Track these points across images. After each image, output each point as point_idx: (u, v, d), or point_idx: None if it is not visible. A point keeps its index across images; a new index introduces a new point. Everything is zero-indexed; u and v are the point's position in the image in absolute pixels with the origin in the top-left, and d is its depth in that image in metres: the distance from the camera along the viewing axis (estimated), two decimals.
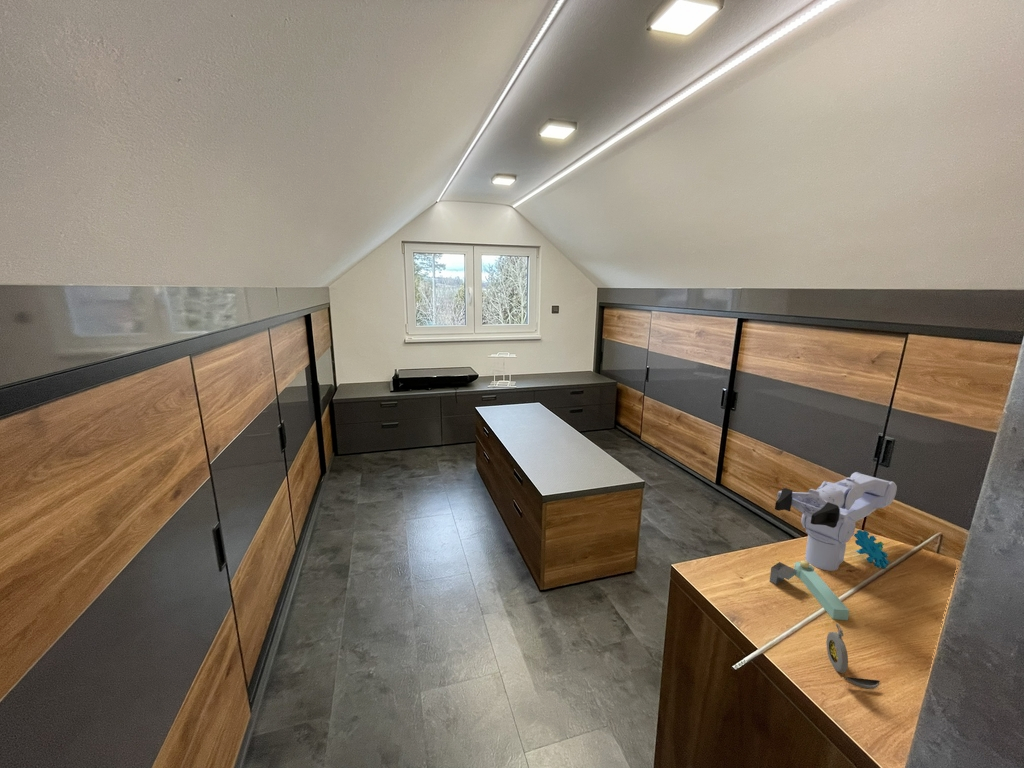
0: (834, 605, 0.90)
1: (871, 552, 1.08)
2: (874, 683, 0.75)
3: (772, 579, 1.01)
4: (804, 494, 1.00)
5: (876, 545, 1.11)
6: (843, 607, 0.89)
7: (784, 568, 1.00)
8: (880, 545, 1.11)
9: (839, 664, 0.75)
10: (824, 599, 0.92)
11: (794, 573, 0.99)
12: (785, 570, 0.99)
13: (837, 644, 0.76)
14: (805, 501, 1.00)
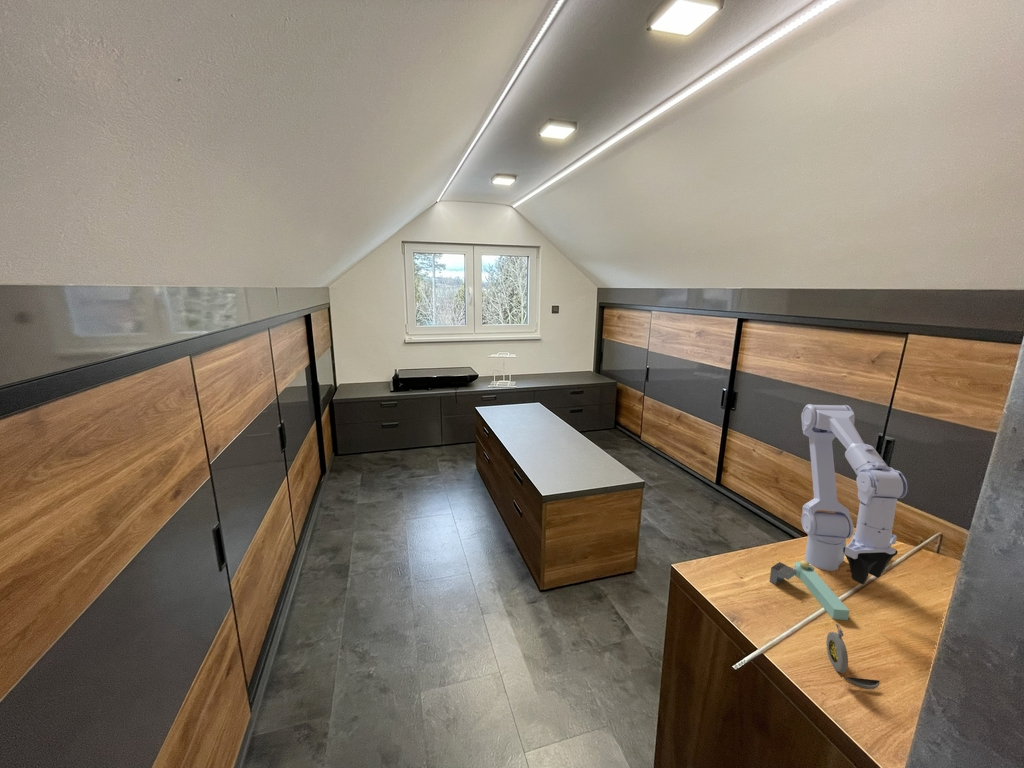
0: (834, 605, 0.90)
1: None
2: (874, 683, 0.75)
3: (772, 579, 1.01)
4: None
5: None
6: (843, 607, 0.89)
7: (784, 568, 1.00)
8: None
9: (839, 664, 0.75)
10: (824, 599, 0.92)
11: (794, 573, 0.99)
12: (785, 570, 0.99)
13: (837, 644, 0.76)
14: None
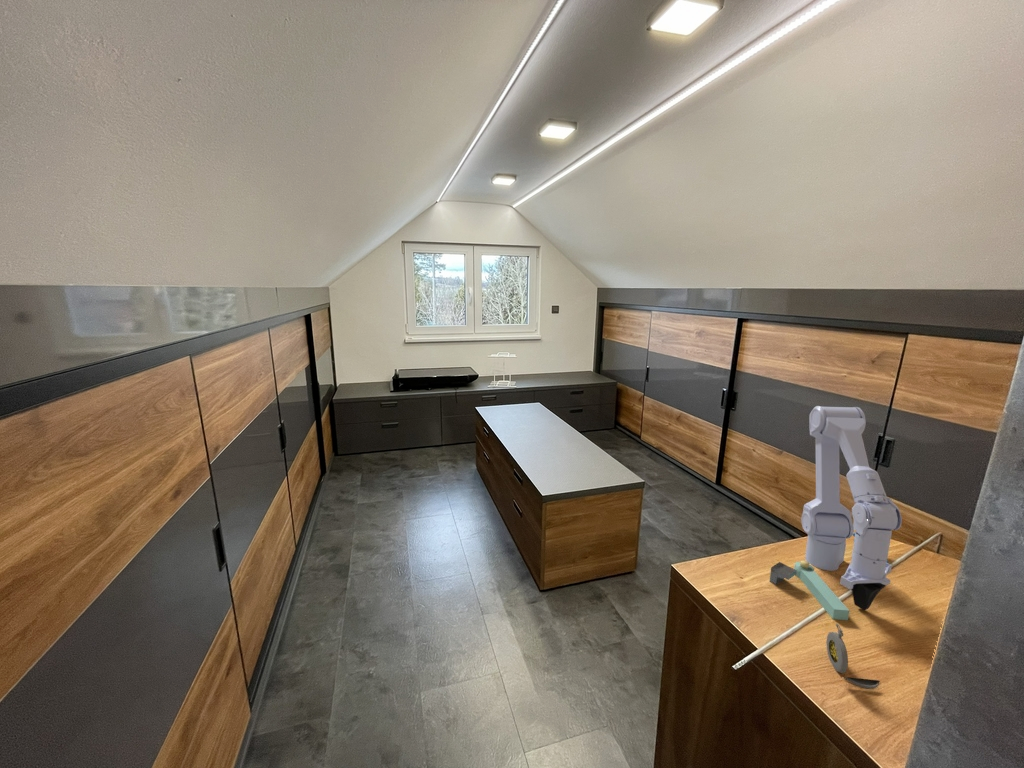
0: (834, 605, 0.90)
1: None
2: (874, 683, 0.75)
3: (772, 579, 1.01)
4: None
5: None
6: (843, 607, 0.89)
7: (784, 568, 1.00)
8: None
9: (839, 664, 0.75)
10: (824, 599, 0.92)
11: (794, 573, 0.99)
12: (785, 570, 0.99)
13: (837, 644, 0.76)
14: None
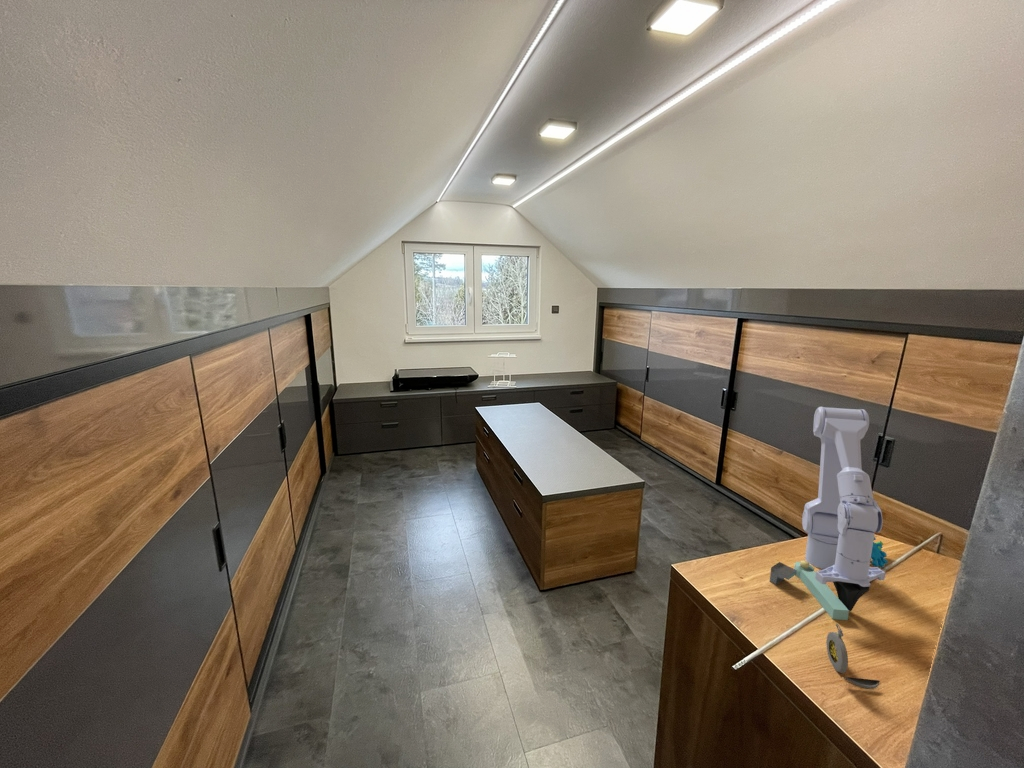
0: (834, 605, 0.90)
1: None
2: (874, 683, 0.75)
3: (772, 579, 1.01)
4: None
5: (875, 544, 1.11)
6: (843, 607, 0.89)
7: (784, 568, 1.00)
8: (879, 545, 1.11)
9: (839, 664, 0.76)
10: (824, 599, 0.92)
11: (794, 573, 0.99)
12: (785, 570, 0.99)
13: (837, 644, 0.76)
14: None
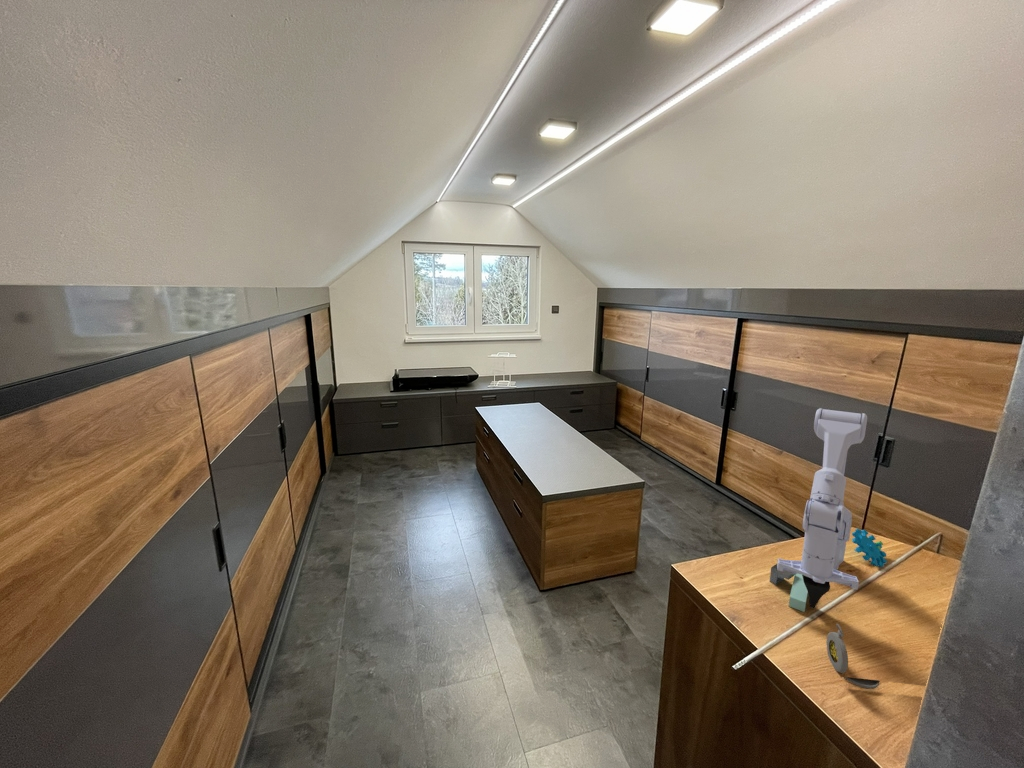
0: (794, 595, 0.93)
1: (867, 551, 1.09)
2: (874, 683, 0.75)
3: (772, 579, 1.01)
4: None
5: (874, 544, 1.11)
6: (802, 599, 0.92)
7: None
8: (879, 544, 1.12)
9: (839, 664, 0.75)
10: None
11: (794, 573, 0.99)
12: None
13: (837, 644, 0.76)
14: None
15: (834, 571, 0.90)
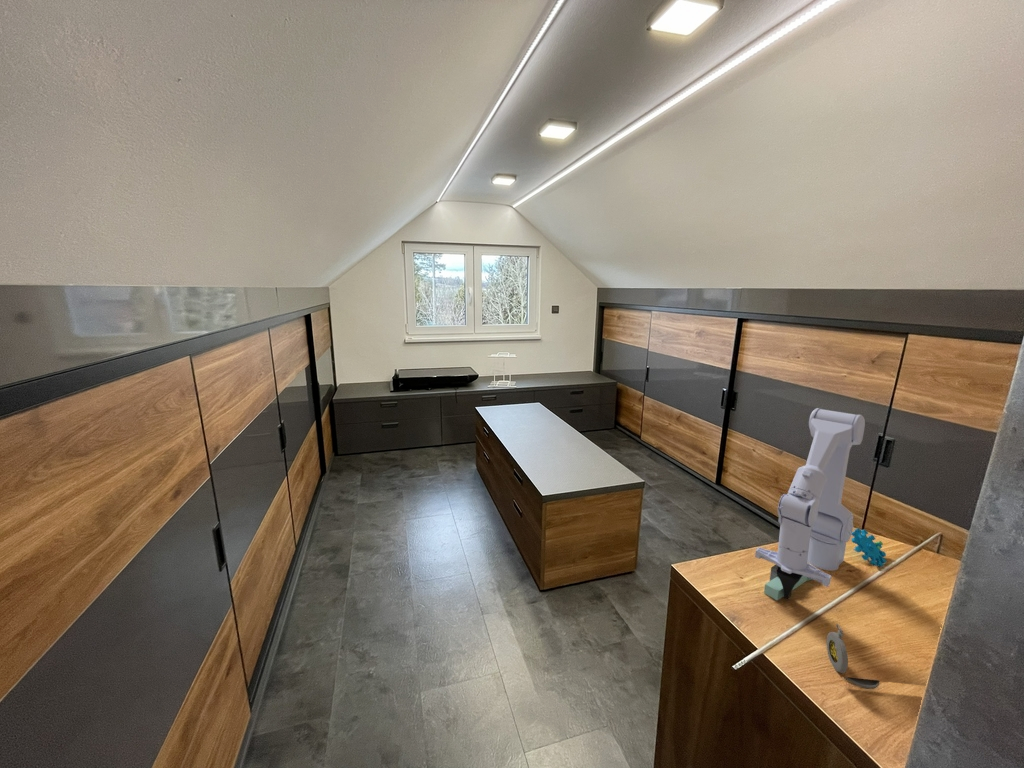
0: (771, 583, 0.97)
1: (867, 550, 1.09)
2: (874, 683, 0.75)
3: None
4: None
5: (874, 544, 1.11)
6: (777, 588, 0.95)
7: None
8: (879, 544, 1.12)
9: (839, 664, 0.75)
10: None
11: None
12: None
13: (837, 644, 0.76)
14: None
15: (811, 567, 0.92)
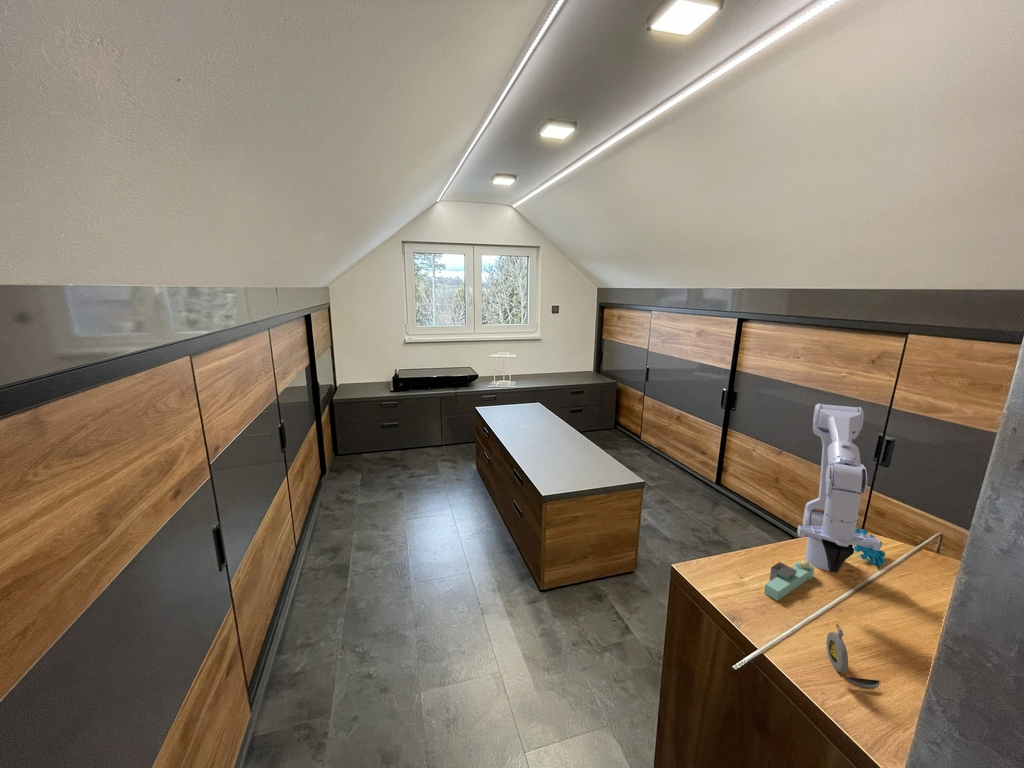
0: (771, 584, 0.97)
1: (866, 550, 1.09)
2: (874, 683, 0.75)
3: (772, 579, 1.01)
4: None
5: None
6: (777, 588, 0.95)
7: (784, 568, 1.00)
8: None
9: (839, 664, 0.75)
10: None
11: (794, 573, 0.99)
12: (785, 570, 0.99)
13: (837, 644, 0.76)
14: None
15: (854, 534, 0.91)
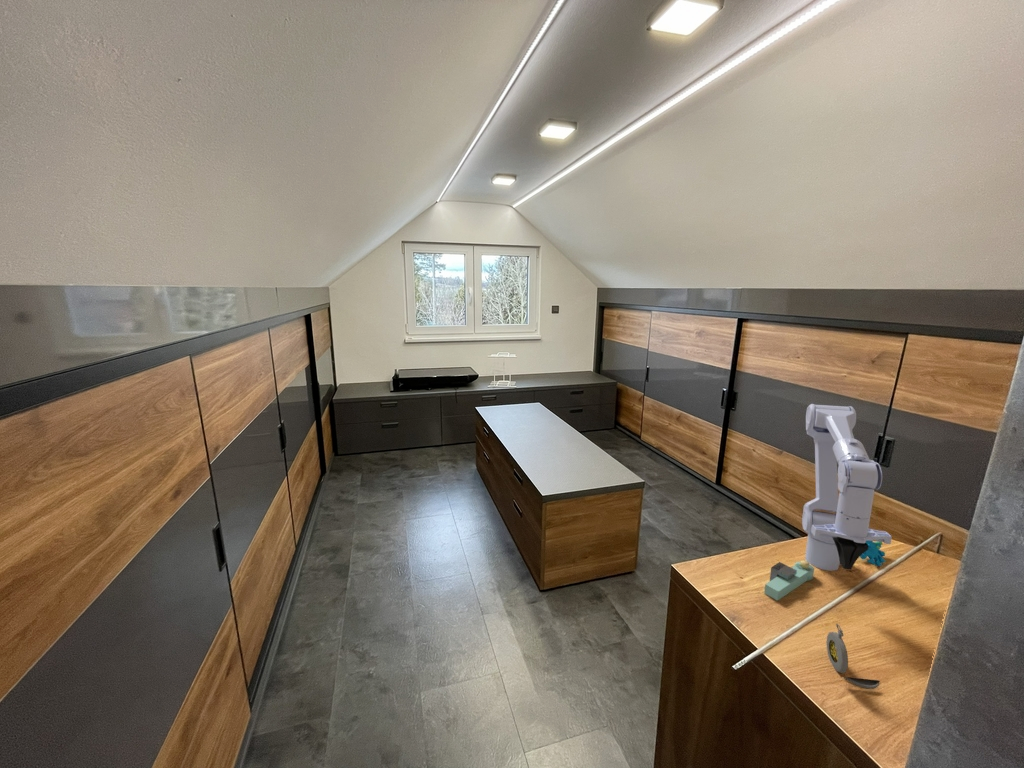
0: (771, 584, 0.97)
1: None
2: (874, 683, 0.75)
3: (772, 579, 1.01)
4: None
5: (873, 544, 1.11)
6: (777, 588, 0.95)
7: (784, 568, 1.00)
8: (878, 544, 1.12)
9: (839, 664, 0.75)
10: None
11: (794, 573, 0.99)
12: (785, 570, 0.99)
13: (837, 644, 0.76)
14: None
15: None
